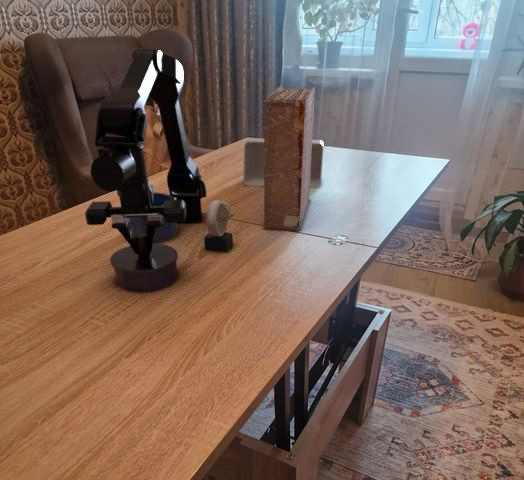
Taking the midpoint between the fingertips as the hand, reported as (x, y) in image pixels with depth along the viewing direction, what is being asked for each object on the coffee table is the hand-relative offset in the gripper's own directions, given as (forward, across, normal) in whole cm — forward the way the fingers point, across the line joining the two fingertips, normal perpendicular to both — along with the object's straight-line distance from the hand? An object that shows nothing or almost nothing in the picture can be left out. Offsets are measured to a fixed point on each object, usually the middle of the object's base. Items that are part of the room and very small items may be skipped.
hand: (143, 252), depth 99 cm
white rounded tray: (+6, -36, -70) cm, 79 cm away
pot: (+6, +2, -25) cm, 26 cm away
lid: (+1, 0, 0) cm, 1 cm away
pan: (+6, 0, 0) cm, 6 cm away
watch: (+6, -15, -15) cm, 22 cm away
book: (+6, -34, -37) cm, 51 cm away
